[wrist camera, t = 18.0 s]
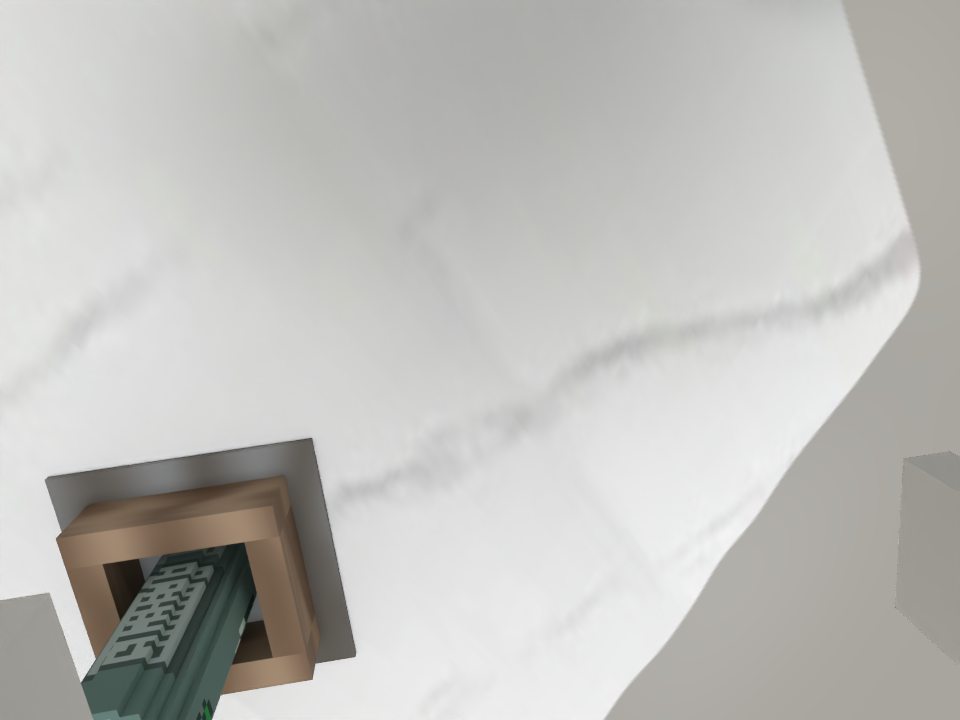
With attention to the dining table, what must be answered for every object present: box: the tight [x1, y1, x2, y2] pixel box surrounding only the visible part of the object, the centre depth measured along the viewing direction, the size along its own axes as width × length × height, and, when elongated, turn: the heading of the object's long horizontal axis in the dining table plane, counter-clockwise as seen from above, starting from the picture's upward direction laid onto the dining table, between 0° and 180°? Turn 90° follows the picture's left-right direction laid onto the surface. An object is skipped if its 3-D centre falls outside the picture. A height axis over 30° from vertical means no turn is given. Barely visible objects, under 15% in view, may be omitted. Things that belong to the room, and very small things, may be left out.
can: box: [81, 542, 257, 720], centre depth 37 cm, size 6×6×15 cm
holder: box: [45, 438, 356, 695], centre depth 43 cm, size 16×16×4 cm
